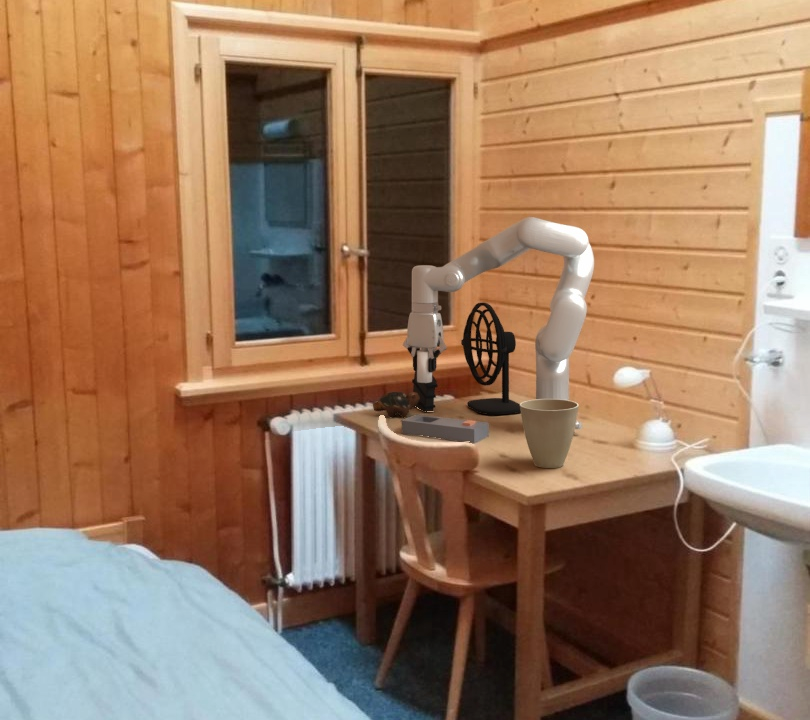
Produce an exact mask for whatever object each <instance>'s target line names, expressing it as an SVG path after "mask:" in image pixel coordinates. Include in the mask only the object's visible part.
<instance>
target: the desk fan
mask: <svg viewBox="0 0 810 720" xmlns="http://www.w3.org/2000/svg"><path fill="white" fill-rule="evenodd" d="M482 306H483V307H485V309H483V310H481V309H479V308H481V307H482ZM487 312H488V313H489V314H490V316H491V319H492V320H490V322H489V320H488V317H487V316H486V313H487ZM476 313H478V314H479V317H477V322H476V321H474V317H475V314H476ZM482 320H483V321H484V325H485V326H486V333H485V335H486V336H485V338H486V339H485V338H482V333H481V331H480V327H481V323H482ZM473 325H474V327H475V337H472V331H473V330H472V328H473ZM492 325H494V328H495V335H496V336H495V337H496V338H495V340H493V336H492V330H491V326H492ZM462 335H463V336H462V339H461V341H460V342H461V343H460V344H461V346H462V348H463V353H464V358H465V361H466V363H467V366H468V367H469V370H470V373H471V375H472V376H473V379H474V380H475V381H476V382H477V383H478V384H480V385H482V386H491V385H493V384H494V383H495V381H496V380H497V378H498V377H499V375H500V373H501V397H491V398H481V399H480V398H476V399H472V400H468V401H467V403H466V406H467V408H469V407H470V408H469V409H471V410H474V411H475V412H477V413H478V414H482V415H489V416H490V415H491V416H495V415H496V416H498V415H509V414H519V413H521V411H520V403H518V402H516V401H514V400H512V399H510V388H509V387H510V368H509V367H510V354H511V353H514V352H515V350H516V345H517V343H516V341H517V340H516V336H515V334H514V333H513V332H512V331H505V329H504V326H503V325H502V323H501V321H500V318H499V317H498V314H497V313H496V311H495V309H494V308H493V307H492V305H491V304H489V303H488V302H484V301H483V302H477V303H475V305H474V306H473V308H472V310H471V311H470V313H469V314H468V317H467V319H466V323H465V326H464V330H463V334H462ZM472 342H475V346H472V345H473V344H472ZM483 343H485V346H486V348H483ZM494 345H495V346H496V349H494V347H493V346H494ZM473 351H476V357H477V363H476V364H475V361H474V356H473V355H474V354H473ZM483 353H487V356H488V362H487V367H486V368H485V366H484V364H483V360H482V359H483V358H482V355H483ZM493 354H497V355H496V363H495V362H494V360H493V357H494V356H493ZM492 366H494V371H493V373H492V374H491V375H490V371H491V369H492ZM479 367H480V369H481V372H482V373H483V375H481V376H480V374H479V372H478V370H477V368H479ZM485 378H489V379H487V380H486V381H484V380H483V379H485Z"/></svg>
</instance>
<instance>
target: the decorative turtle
mask: <svg viewBox="0 0 810 720" xmlns="http://www.w3.org/2000/svg"><path fill="white" fill-rule="evenodd" d="M419 399H420V397H419V395H418V393H415V392H413V391H410V392H408V393H407V394H406V393H404V392H401V391H391V392H388V393H386V394H384V395H382V396H381V397H380V398H379V400H378V401H375V402H373V403H372V409H373V411H375V412H384V411H385V412H386V414H387V417H388V418H390V417H392V418H394V417H395V415H396V414H399V416H400V417H401V418H402V417H403V419H405V418H404V417H406V418H408V415H409V413H410V410H412V409H414V408H415V406H416V405H417V403H418V402H419V401H418V400H419Z"/></svg>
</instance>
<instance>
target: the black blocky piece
mask: <svg viewBox="0 0 810 720" xmlns="http://www.w3.org/2000/svg"><path fill="white" fill-rule="evenodd" d="M411 381H412V384H413V387H412V392H415V393H418V395H419V397H420V399H419V400H418V401H419V402H418V403H417V405H416V407H418V408H419V409H421V410H423V411H426V412H427V411H435V409H436V405H435V398H437V395H436V394H435V392H436V388H439V387H438V384H437V379H436V378H435V376H434V375H433V374H432V382H430V383H420V382H417V370H416V371H414V376H413V379H411ZM419 409H418V410H419ZM421 410H420V411H421ZM423 411H422V412H423Z"/></svg>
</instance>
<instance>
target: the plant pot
mask: <svg viewBox="0 0 810 720" xmlns="http://www.w3.org/2000/svg"><path fill="white" fill-rule="evenodd" d="M519 404H520V411H521V412H520V416H521V422H522V427H523V433H524V436H525V440H526V444H527V447H528V450H529V452H530V453H529V454H530V456H531V459H532V462H533V464H534V466H536V467H539V468H542V469H556V468H561V467H563V466H564V464H565V463H566V460H567V456H568V454H569V451H570V447H571V445H572V440H573V437H574V434H575V430H576V429H575V425H576V421H577V419H578V411H579V403H578V402H576V401H573V400H570V399H569V400H562V399H536V398H535V399H529V400H525V401H522V402H520V403H519Z"/></svg>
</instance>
